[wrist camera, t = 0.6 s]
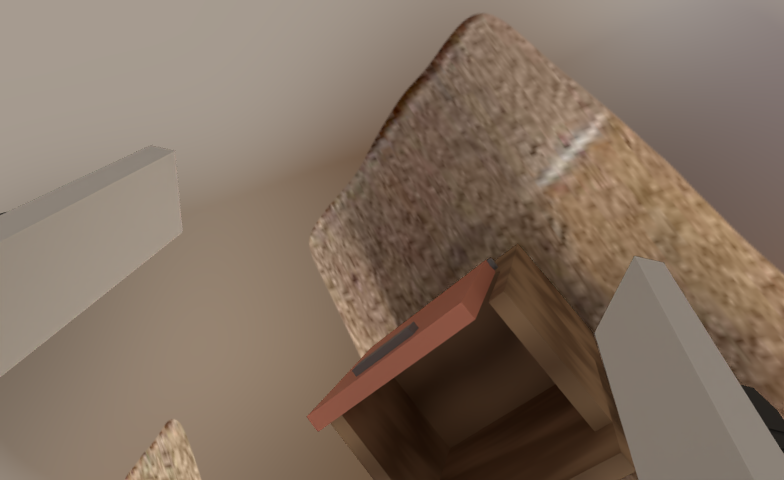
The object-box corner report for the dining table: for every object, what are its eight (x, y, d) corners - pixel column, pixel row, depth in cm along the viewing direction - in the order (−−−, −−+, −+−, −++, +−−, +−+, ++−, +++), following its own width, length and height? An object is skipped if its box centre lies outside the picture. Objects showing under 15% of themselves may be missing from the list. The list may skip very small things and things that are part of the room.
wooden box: (592, 332, 43) (636, 471, 24) (464, 413, 49) (412, 582, 29) (517, 243, 44) (500, 305, 24) (399, 332, 49) (307, 442, 30)
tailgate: (499, 267, 37) (479, 316, 25) (380, 356, 41) (314, 434, 29) (486, 250, 37) (459, 291, 25) (369, 341, 41) (298, 412, 29)
